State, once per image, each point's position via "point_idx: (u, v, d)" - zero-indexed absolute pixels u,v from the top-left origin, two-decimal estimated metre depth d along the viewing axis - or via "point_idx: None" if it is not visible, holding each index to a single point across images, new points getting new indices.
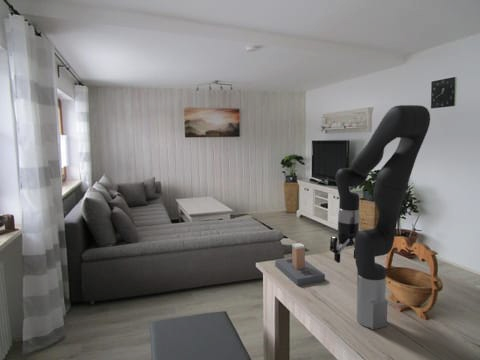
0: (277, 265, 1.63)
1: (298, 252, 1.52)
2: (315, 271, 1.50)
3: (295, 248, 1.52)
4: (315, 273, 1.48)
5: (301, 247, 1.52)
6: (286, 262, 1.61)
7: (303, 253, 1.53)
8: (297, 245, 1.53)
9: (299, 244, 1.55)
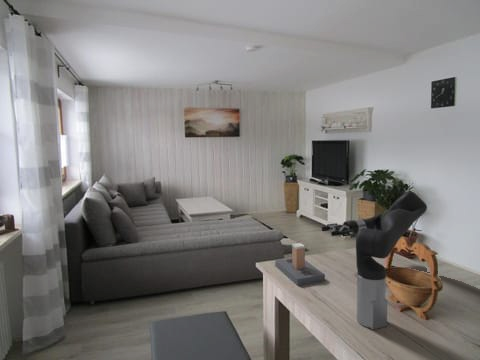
0: (277, 265, 1.63)
1: (298, 252, 1.52)
2: (315, 271, 1.50)
3: (295, 248, 1.52)
4: (315, 273, 1.48)
5: (301, 247, 1.52)
6: (286, 262, 1.61)
7: (303, 253, 1.53)
8: (297, 245, 1.53)
9: (299, 244, 1.55)
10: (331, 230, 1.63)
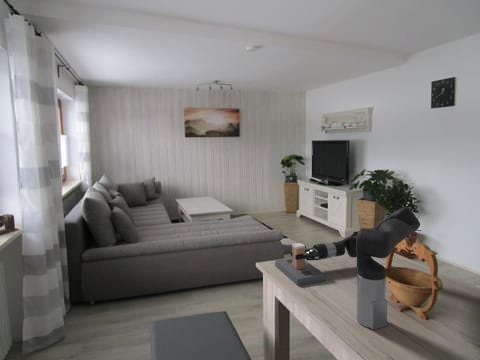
0: (277, 265, 1.63)
1: (298, 252, 1.52)
2: (315, 271, 1.50)
3: (295, 248, 1.53)
4: (315, 273, 1.48)
5: (301, 247, 1.52)
6: (286, 262, 1.61)
7: (303, 253, 1.53)
8: (297, 245, 1.54)
9: (299, 244, 1.55)
10: None
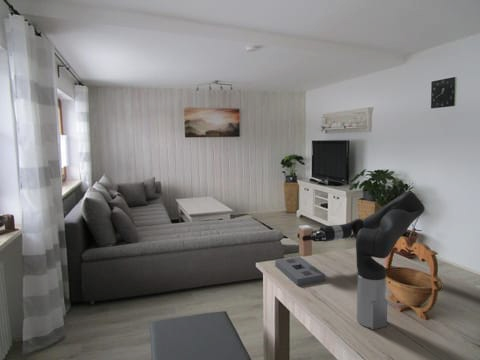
0: (277, 265, 1.63)
1: (305, 233, 1.53)
2: (315, 271, 1.50)
3: (302, 229, 1.53)
4: (315, 273, 1.48)
5: (308, 228, 1.53)
6: (286, 262, 1.61)
7: (310, 234, 1.54)
8: (304, 227, 1.54)
9: (306, 226, 1.56)
10: None
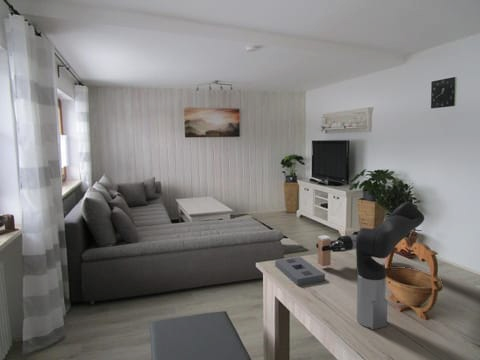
0: (277, 265, 1.63)
1: (324, 243, 1.56)
2: (315, 271, 1.50)
3: (321, 240, 1.56)
4: (315, 273, 1.48)
5: (327, 239, 1.56)
6: (286, 262, 1.61)
7: None
8: (323, 237, 1.57)
9: (325, 236, 1.59)
10: None
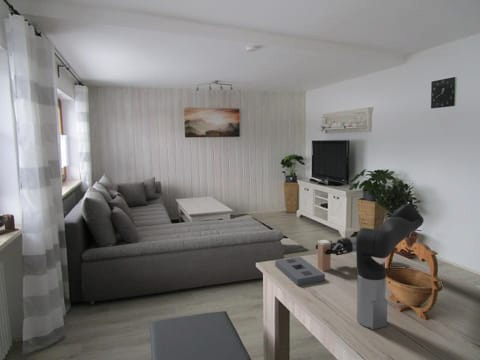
0: (277, 265, 1.63)
1: (324, 248, 1.56)
2: (315, 271, 1.50)
3: (321, 244, 1.56)
4: (315, 273, 1.48)
5: (327, 243, 1.56)
6: (286, 262, 1.61)
7: None
8: (323, 241, 1.57)
9: (325, 241, 1.59)
10: None
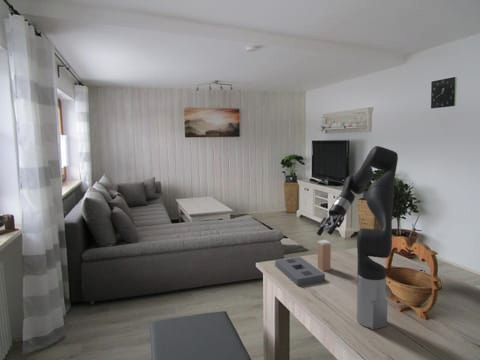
0: (277, 265, 1.63)
1: (324, 248, 1.56)
2: (315, 271, 1.50)
3: (321, 244, 1.56)
4: (315, 273, 1.48)
5: (327, 243, 1.56)
6: (286, 262, 1.61)
7: (329, 249, 1.57)
8: (323, 241, 1.57)
9: (325, 241, 1.59)
10: (325, 228, 1.57)
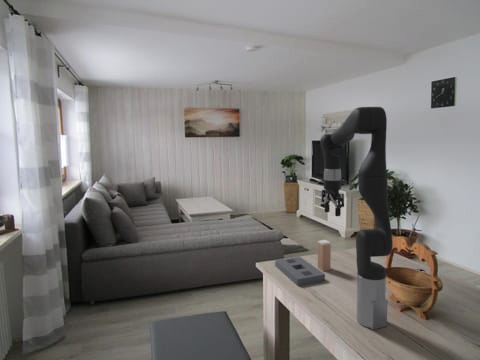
0: (277, 265, 1.63)
1: (324, 248, 1.56)
2: (315, 271, 1.50)
3: (321, 244, 1.56)
4: (315, 273, 1.48)
5: (327, 243, 1.56)
6: (286, 262, 1.61)
7: (329, 249, 1.57)
8: (323, 241, 1.57)
9: (325, 241, 1.59)
10: None
